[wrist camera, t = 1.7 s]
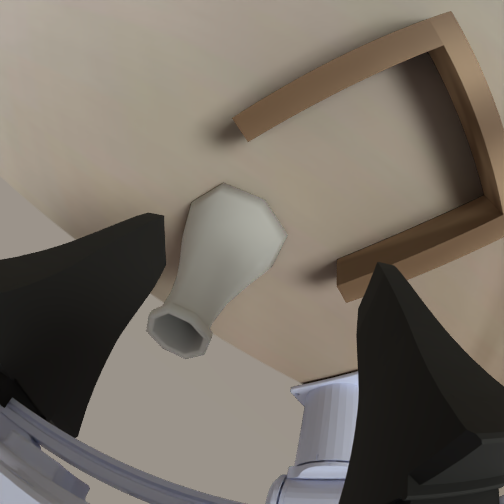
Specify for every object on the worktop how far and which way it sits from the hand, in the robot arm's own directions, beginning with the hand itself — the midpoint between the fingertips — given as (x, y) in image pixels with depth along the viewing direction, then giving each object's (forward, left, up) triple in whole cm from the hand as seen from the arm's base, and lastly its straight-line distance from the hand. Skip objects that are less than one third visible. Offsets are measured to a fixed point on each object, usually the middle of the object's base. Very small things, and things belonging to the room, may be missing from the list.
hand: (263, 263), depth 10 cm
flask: (-2, +6, -11) cm, 12 cm away
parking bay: (-2, -6, -10) cm, 12 cm away
